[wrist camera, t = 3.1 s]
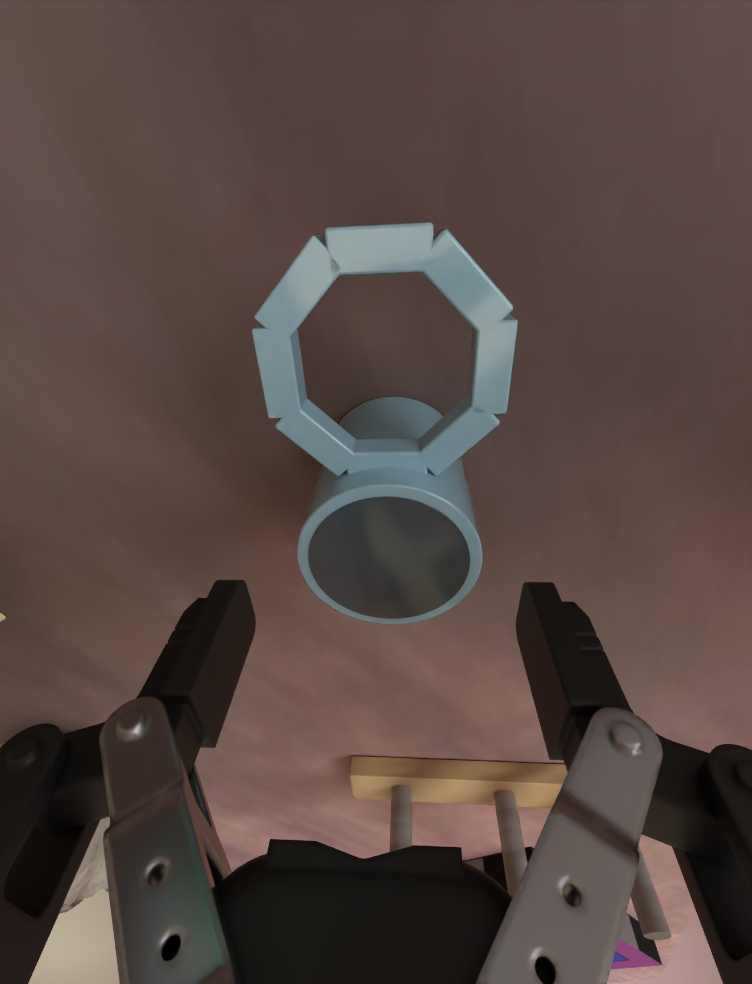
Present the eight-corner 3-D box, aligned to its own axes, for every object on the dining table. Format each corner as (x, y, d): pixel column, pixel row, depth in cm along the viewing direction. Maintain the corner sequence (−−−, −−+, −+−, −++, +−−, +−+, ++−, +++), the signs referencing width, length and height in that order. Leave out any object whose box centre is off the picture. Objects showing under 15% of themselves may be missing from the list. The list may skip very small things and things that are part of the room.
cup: (464, 511, 21) (486, 628, 15) (327, 511, 22) (298, 624, 16) (489, 213, 15) (544, 218, 9) (289, 224, 15) (214, 234, 9)
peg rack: (663, 767, 33) (738, 931, 26) (648, 791, 35) (713, 949, 28) (351, 755, 35) (336, 905, 27) (355, 779, 37) (341, 924, 30)
